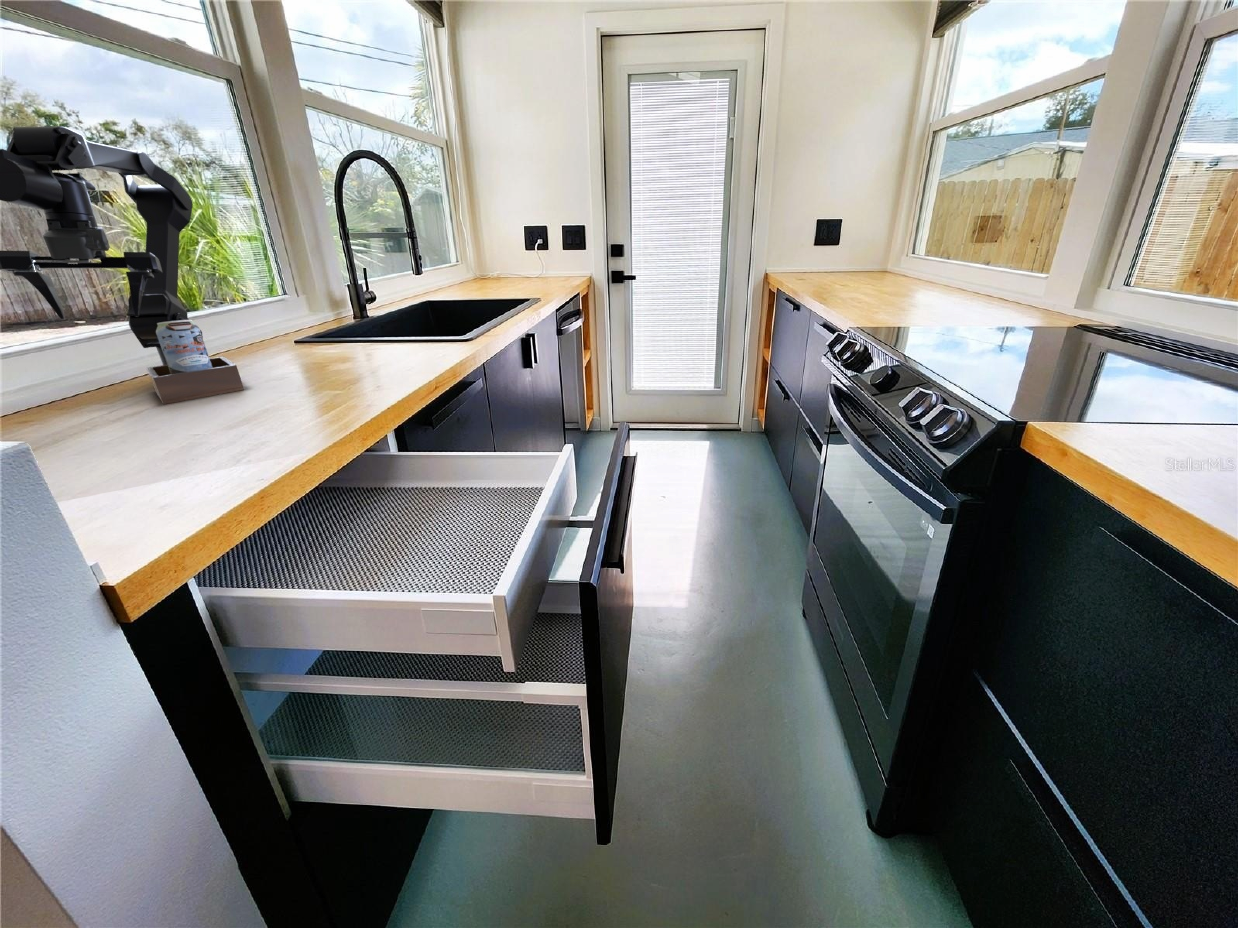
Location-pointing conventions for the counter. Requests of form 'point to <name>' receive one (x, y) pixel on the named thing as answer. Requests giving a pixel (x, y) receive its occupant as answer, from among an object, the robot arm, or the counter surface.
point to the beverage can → (183, 346)
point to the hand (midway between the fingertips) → (101, 317)
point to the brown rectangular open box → (195, 381)
